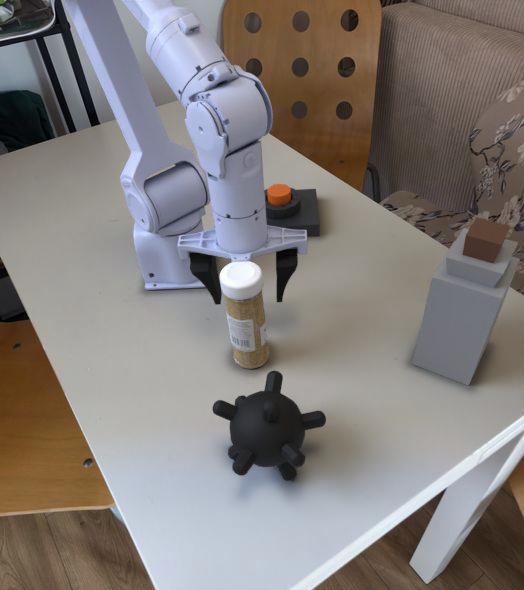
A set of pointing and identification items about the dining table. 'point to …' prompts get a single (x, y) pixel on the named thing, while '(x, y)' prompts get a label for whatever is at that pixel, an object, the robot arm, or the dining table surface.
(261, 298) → the spice jar
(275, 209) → the control block
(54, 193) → the dining table surface
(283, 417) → the toy ball
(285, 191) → the button
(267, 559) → the dining table surface
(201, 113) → the robot arm
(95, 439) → the dining table surface
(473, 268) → the perfume bottle
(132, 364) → the dining table surface
